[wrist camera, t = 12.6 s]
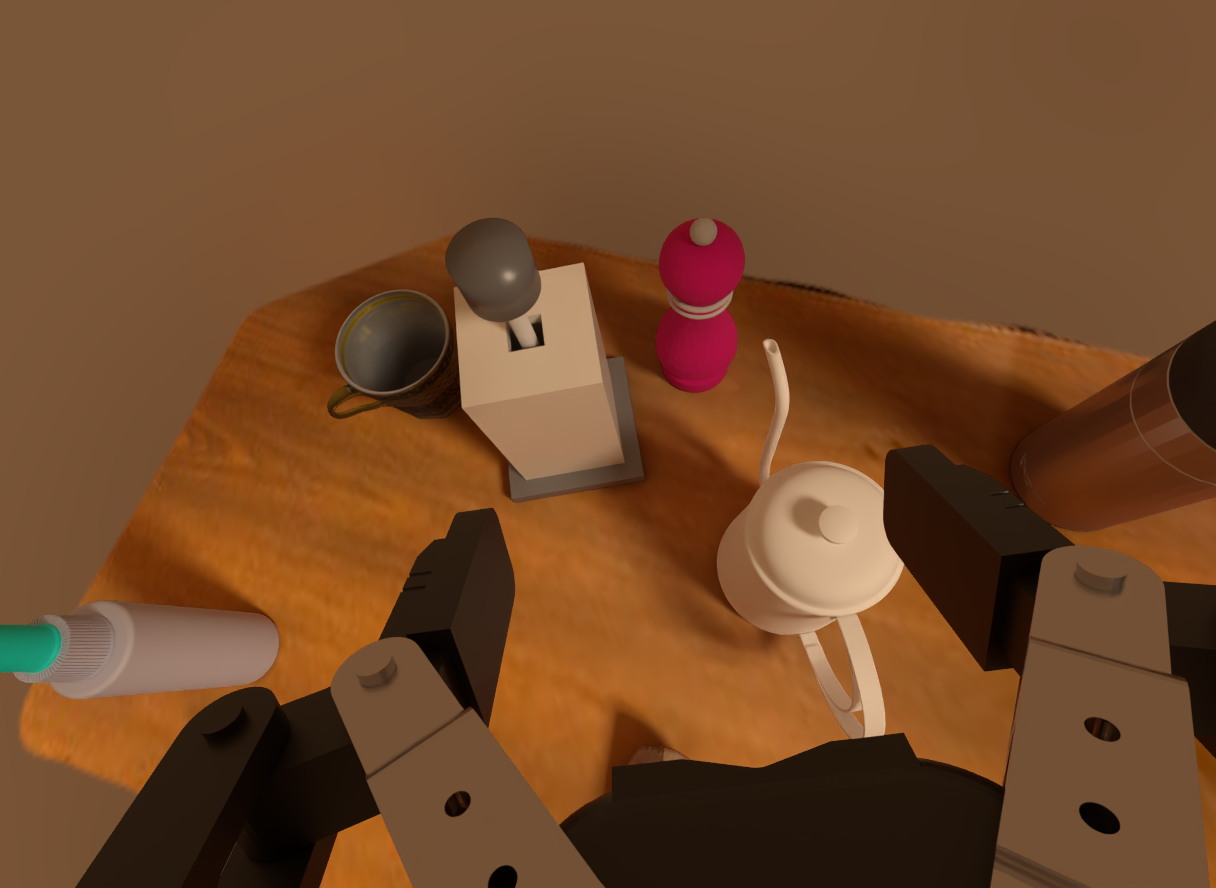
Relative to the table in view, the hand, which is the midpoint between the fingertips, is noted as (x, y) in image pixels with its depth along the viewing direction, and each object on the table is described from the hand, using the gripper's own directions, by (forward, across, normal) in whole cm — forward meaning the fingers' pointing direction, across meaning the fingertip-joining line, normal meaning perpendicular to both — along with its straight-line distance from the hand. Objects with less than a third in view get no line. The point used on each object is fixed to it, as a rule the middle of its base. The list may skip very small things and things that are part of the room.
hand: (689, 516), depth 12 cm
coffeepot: (+30, -9, +26) cm, 41 cm away
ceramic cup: (+45, +22, +12) cm, 51 cm away
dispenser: (+41, +7, +15) cm, 44 cm away
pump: (+36, +7, +11) cm, 39 cm away
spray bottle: (+30, +38, +27) cm, 55 cm away
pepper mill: (+44, -5, +12) cm, 46 cm away
